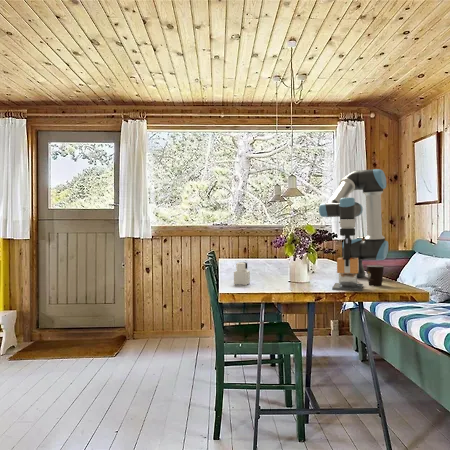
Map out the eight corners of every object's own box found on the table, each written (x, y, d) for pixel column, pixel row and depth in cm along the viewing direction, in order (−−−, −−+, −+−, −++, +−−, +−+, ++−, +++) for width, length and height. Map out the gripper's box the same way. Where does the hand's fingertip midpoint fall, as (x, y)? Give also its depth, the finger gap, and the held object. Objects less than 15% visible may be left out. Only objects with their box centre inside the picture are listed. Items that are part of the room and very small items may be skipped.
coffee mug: (385, 286, 226) (384, 267, 226) (367, 286, 228) (367, 266, 228) (381, 283, 237) (381, 265, 237) (365, 283, 239) (365, 264, 239)
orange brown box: (338, 270, 229) (338, 257, 229) (358, 271, 226) (358, 257, 226) (337, 272, 219) (336, 259, 219) (357, 273, 216) (357, 259, 216)
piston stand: (335, 284, 233) (335, 262, 233) (362, 285, 229) (362, 262, 229) (332, 289, 216) (332, 265, 216) (361, 290, 212) (361, 266, 212)
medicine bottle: (237, 283, 244) (237, 261, 244) (250, 283, 242) (249, 261, 242) (233, 284, 237) (233, 262, 237) (246, 285, 235) (246, 263, 235)
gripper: (341, 227, 234) (341, 269, 234) (338, 228, 213) (338, 273, 213) (355, 227, 232) (356, 269, 232) (354, 228, 211) (354, 274, 211)
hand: (347, 271), depth 222 cm, fingers closed on orange brown box, 10 cm apart
